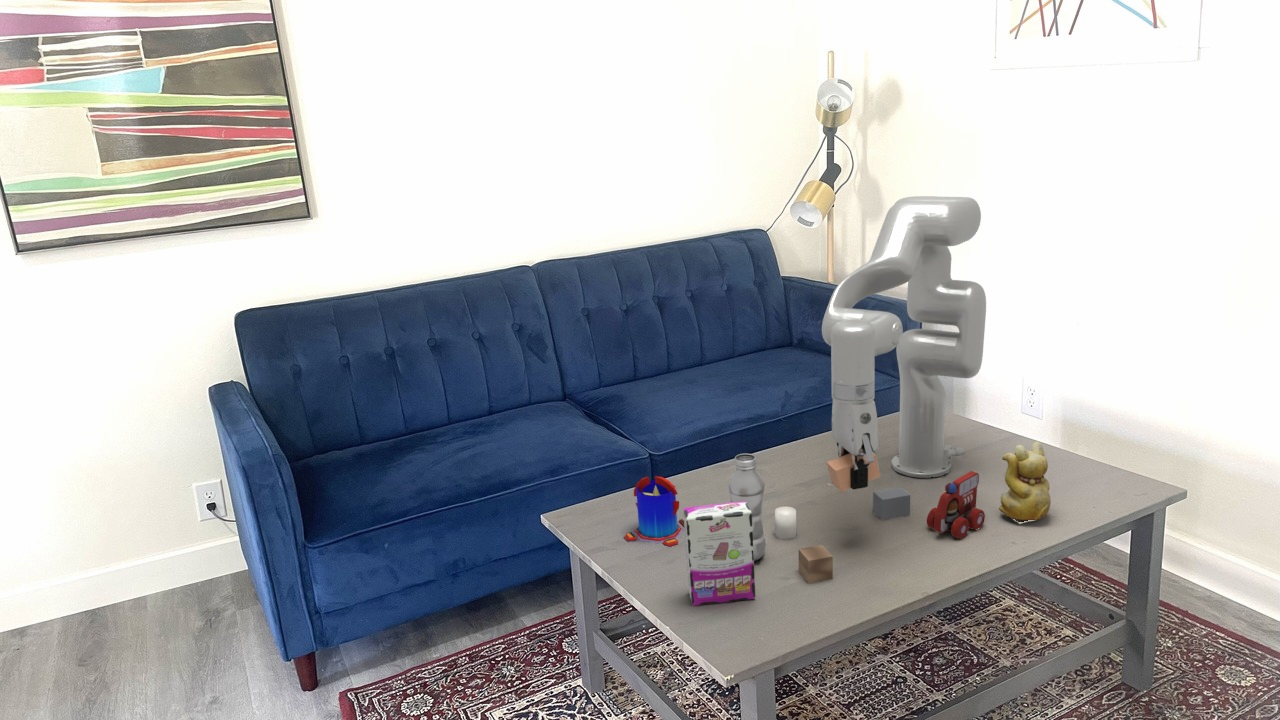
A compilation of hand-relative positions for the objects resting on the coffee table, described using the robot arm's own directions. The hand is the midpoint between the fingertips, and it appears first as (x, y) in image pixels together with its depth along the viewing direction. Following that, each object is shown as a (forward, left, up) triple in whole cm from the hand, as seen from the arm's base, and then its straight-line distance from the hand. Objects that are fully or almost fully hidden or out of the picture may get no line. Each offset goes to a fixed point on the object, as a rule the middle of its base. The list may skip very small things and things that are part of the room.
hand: (853, 481), depth 170 cm
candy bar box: (+29, +9, -13) cm, 33 cm away
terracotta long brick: (0, 0, 0) cm, 1 cm away
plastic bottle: (+20, -2, -13) cm, 24 cm away
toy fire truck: (-21, +1, -13) cm, 24 cm away
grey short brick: (-13, -9, -13) cm, 20 cm away
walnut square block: (+11, +8, -13) cm, 19 cm away
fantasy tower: (+33, -18, -13) cm, 40 cm away
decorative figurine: (-36, +2, -13) cm, 38 cm away
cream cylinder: (+10, -8, -13) cm, 18 cm away
